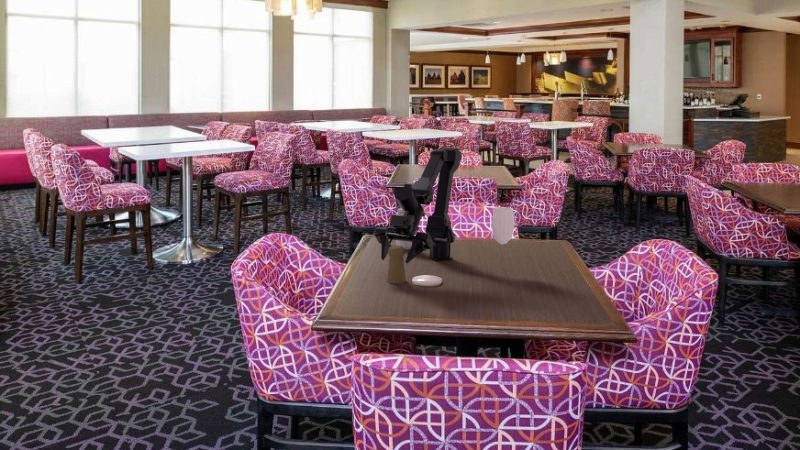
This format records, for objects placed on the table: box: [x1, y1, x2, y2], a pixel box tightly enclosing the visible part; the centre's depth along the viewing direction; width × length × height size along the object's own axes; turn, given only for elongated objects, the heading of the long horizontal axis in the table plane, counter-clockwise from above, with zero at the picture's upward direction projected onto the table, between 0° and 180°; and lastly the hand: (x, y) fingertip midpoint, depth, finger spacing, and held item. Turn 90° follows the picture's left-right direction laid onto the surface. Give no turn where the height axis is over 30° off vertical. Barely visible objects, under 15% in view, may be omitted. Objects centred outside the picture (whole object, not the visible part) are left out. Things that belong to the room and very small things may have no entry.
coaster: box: [411, 274, 443, 287], centre depth 205 cm, size 9×9×1 cm
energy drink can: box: [395, 207, 412, 251], centre depth 250 cm, size 6×6×15 cm
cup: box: [491, 206, 515, 245], centre depth 217 cm, size 7×7×21 cm
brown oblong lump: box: [386, 245, 407, 284], centre depth 206 cm, size 6×6×11 cm
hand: (394, 261), depth 205 cm, fingers open, 8 cm apart
